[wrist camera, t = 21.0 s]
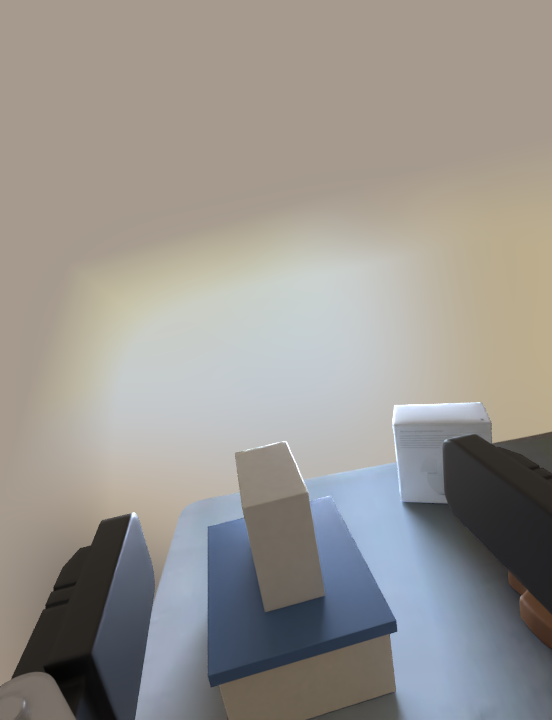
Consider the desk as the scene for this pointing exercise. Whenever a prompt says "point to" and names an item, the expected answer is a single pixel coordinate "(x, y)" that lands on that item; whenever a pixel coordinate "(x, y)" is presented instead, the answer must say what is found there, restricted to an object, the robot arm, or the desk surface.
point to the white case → (279, 526)
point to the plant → (533, 612)
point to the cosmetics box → (431, 444)
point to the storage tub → (296, 629)
